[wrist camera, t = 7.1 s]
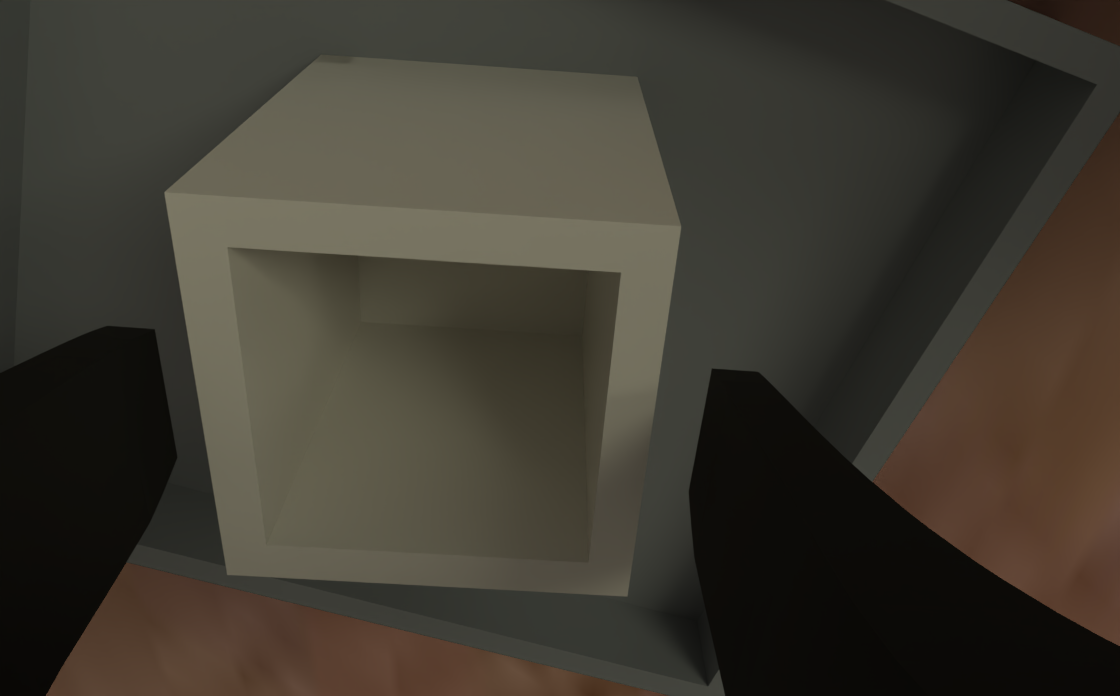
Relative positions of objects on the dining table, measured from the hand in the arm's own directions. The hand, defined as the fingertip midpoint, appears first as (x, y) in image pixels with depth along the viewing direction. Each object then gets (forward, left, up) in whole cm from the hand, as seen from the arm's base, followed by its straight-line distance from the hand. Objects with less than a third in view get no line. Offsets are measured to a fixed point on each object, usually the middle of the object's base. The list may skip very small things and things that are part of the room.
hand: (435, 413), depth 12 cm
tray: (0, +1, -7) cm, 7 cm away
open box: (0, 0, -6) cm, 6 cm away
